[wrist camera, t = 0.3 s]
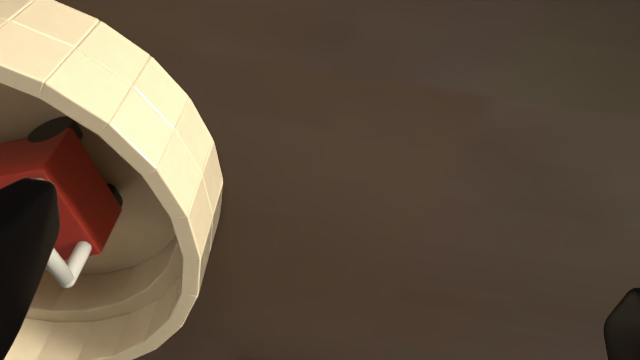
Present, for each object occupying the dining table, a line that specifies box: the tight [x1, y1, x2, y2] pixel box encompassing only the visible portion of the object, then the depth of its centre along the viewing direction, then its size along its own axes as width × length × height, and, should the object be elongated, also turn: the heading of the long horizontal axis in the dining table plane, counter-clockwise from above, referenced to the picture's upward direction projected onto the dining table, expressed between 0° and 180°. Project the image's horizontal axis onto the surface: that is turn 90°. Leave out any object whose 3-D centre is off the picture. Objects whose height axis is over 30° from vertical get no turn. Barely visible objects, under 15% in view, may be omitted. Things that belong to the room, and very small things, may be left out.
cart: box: [0, 116, 123, 288], centre depth 23 cm, size 7×4×6 cm, turn 105°
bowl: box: [0, 0, 223, 360], centre depth 24 cm, size 16×16×6 cm
